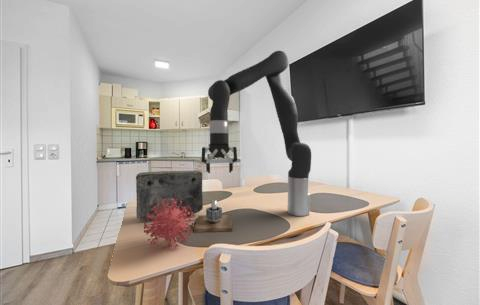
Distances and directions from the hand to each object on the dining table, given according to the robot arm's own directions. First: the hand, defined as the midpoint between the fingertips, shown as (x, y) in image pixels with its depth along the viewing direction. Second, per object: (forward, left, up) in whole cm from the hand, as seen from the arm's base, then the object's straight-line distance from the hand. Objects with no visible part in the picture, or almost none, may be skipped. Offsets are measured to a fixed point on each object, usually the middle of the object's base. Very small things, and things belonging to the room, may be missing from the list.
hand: (219, 172), depth 82 cm
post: (+2, +1, -20) cm, 20 cm away
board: (+2, +1, -21) cm, 21 cm away
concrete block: (+21, -8, -21) cm, 31 cm away
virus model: (+15, +18, -21) cm, 32 cm away
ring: (+2, +1, -18) cm, 18 cm away
